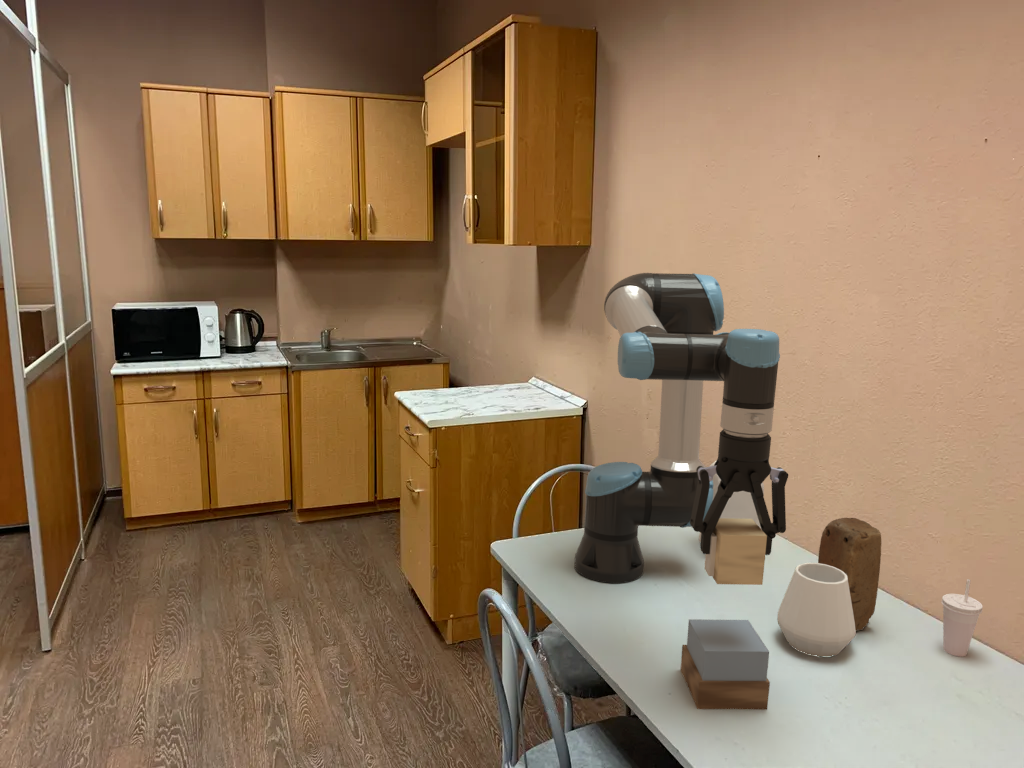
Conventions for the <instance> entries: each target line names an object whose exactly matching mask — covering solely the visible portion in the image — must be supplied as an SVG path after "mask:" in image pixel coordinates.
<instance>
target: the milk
mask: <svg viewBox="0 0 1024 768" xmlns="http://www.w3.org/2000/svg"><path fill="white" fill-rule="evenodd" d="M716 461H717V459H716V460H714V462H712V463H711V464H710V465H709V466H708V467H710V466H714V464H715V463H716ZM720 481H721V479H720V478H719V476H718V475H717V473H716V474H715V475H714V476H713V490H714V494H713V499H714V497H715V495H716V493H717V490H718V486H719V483H720ZM761 487H762V491H763V494H764V496H763V497H764V498H765V485H764V481H763V482H762V484H761ZM720 518H734V519H753V520H754V522H755V523H756V524H757V525H758V526H759V527H760V528H761V526H760V523H759V519H758V516H757V513H756V509H755V506H754V503H753V499H752V496H751V493H750V492H745V491H740V492H733V494H732V496H731V498H729V500H728V502H727V504H726V506H725V508H724V510H723V512H722V514H721V516H720ZM698 536H699V537H698V541H699V543H701V532H699V535H698Z"/></svg>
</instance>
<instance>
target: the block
mask: <svg viewBox="0 0 1024 768" xmlns="http://www.w3.org/2000/svg"><path fill="white" fill-rule="evenodd" d="M881 534H882V533H881V531H880V530H879V529H878V528H876V527H874V526H872V525H871V524H870V523H868V522H867V521H864V520H861V519H859V518H856V517H840V518H836V519H834V520H831V521H830V522H828V523H827V525H826V526H825V528H824V529H823V531H822V533H821V536H820V537H821V538H820V543H819V547H818V562H817V563H820V564H826V565H829V566H833V567H835V568H837V569H839V570H841V571H843V572H844V573H845V574H846V575H847V578H848V584H849V590H850V596H851V603H852V609H853V615H854V621H855V629H856V632H857V631H861V630H864V628H865V627H867V626H868V625H869V624H870V619H871V618H872V616H873V615H874V614H875V610H876V603H877V598H878V592H879V591H878V589H879V579H880V574H881V573H880V572H881V571H880V570H881V557H882V535H881Z"/></svg>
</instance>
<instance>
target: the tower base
mask: <svg viewBox="0 0 1024 768" xmlns="http://www.w3.org/2000/svg"><path fill="white" fill-rule="evenodd" d="M681 646H682V647H681V658H680V659H681V660H680V672H681V674H682V676H683V679H684V682H685V683H686V686H687V688H688V690H689V692H690V695H691V698H692V701H693V702H694V705H695V707H696V709H697V710H768V706H769V704H768V703H769V693H770V686H771V685H770V683H771V681H770V680H769V679H768V678H767V681H703V680H702V678H701V676H700V674H699V672H698V669H697V667H696V665H695V663H694V661H693V659H692V657H691V655H690V653H689V651H688V648H687V644H682V645H681Z"/></svg>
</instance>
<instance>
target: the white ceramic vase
mask: <svg viewBox="0 0 1024 768" xmlns="http://www.w3.org/2000/svg"><path fill="white" fill-rule="evenodd" d="M787 585H788V586H787V588H786V591H785V593H784V595H783V598H782V601H781V603H780V605H779V608H778V611H777V619H776V620H777V624H778V626H779V628H780V630H781V631H782V634H783V636H784V638H785V639H786V642H787V643H788V642H789V643H788V644H789V646H790V647H792V646H793V647H794V648H793V647H792V648H793V649H795V648H796V649H797V650H796V649H795V650H796V651H798V650H799V651H798V652H800V651H802V652H805V653H807V654H811V655H817V656H832V655H835V656H837V655H838V654H839V653H840V652H841V651H842V650H844V648H845V647H847V646H848V644H850V643H851V641H853V639H854V638H855V636H856V634H857V631H856V629H855V621H854V615H853V609H852V603H851V596H850V590H849V584H848V578H847V575H846V574H845V573H844V572H843V571H841V570H839V569H837V568H835V567H833V566H829V565H826V564H820V563H818V562H805V563H800V564H798V565H797V566H796V567H795V569H794V572H793V573H792V575H791V578H790V581H789V584H787ZM802 652H801V653H802ZM805 653H804V654H805ZM807 654H806V655H807ZM811 655H810V656H811ZM832 657H833V656H832Z"/></svg>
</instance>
